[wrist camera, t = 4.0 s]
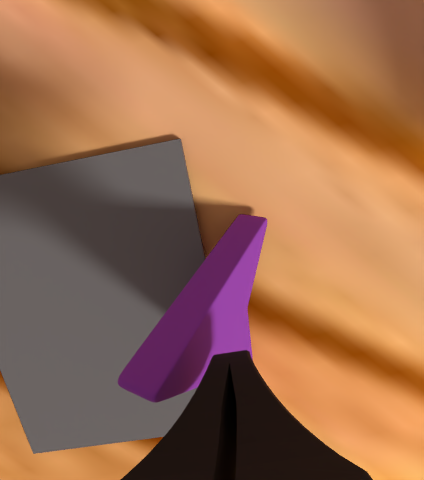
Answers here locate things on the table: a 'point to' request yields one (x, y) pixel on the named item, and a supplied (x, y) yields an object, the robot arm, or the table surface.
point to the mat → (92, 290)
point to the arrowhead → (201, 318)
